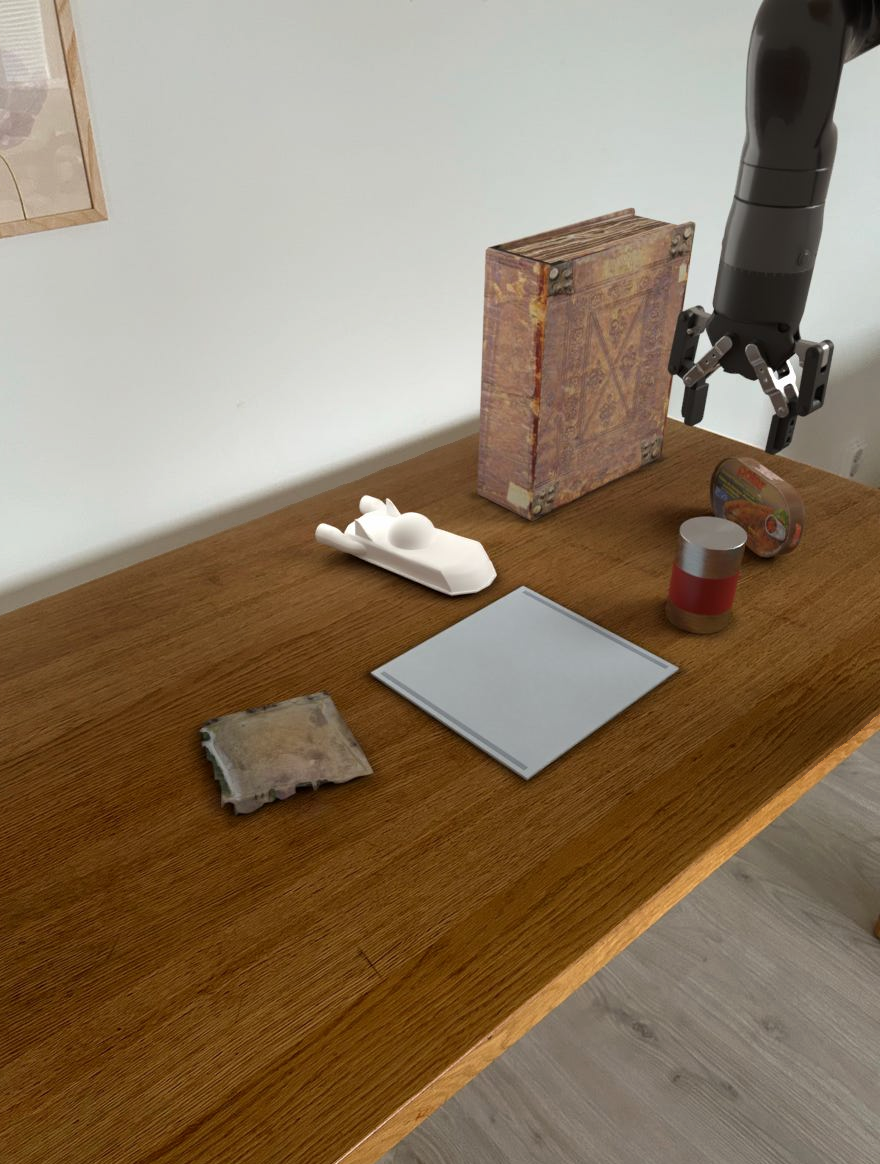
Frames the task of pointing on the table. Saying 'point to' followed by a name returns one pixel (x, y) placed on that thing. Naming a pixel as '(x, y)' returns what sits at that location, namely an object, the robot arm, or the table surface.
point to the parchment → (281, 750)
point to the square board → (524, 679)
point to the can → (705, 574)
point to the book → (577, 357)
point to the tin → (758, 505)
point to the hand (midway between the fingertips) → (732, 437)
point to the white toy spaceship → (412, 548)
